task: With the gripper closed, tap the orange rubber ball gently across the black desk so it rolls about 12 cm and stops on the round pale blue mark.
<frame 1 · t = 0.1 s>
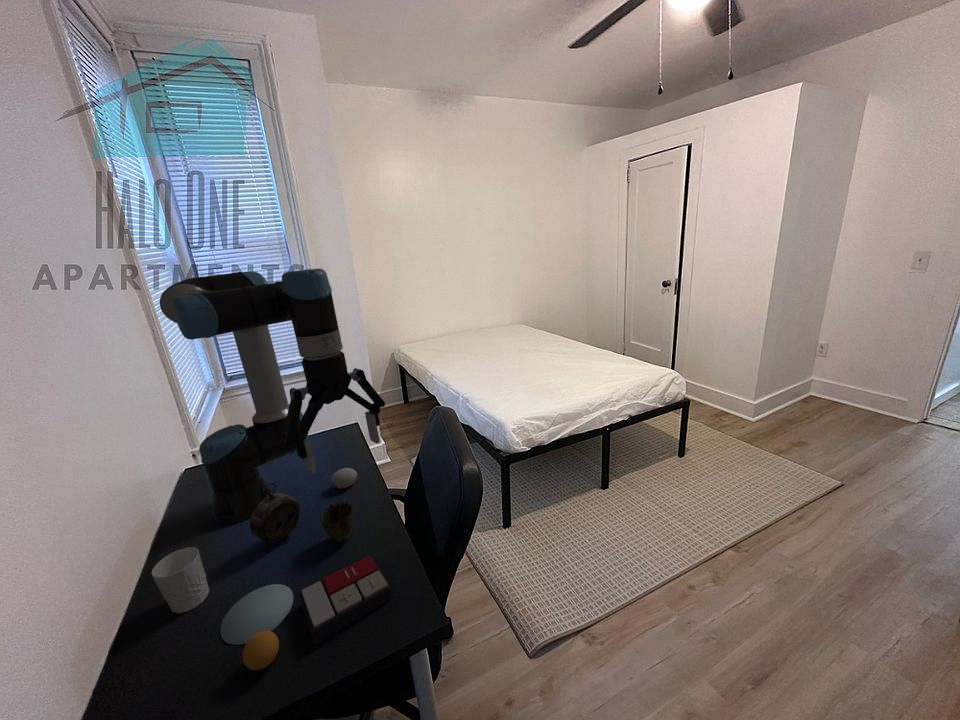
hand: (345, 455, 78), 28 cm above the table, fingers open, 13 cm apart
white cup: (191, 600, 83), on the table
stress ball: (345, 485, 118), on the table
alarm clock: (284, 539, 98), on the table
calculator: (347, 603, 79), on the table
ball: (261, 649, 67), on the table
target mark: (258, 612, 78), on the table
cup: (342, 539, 96), on the table
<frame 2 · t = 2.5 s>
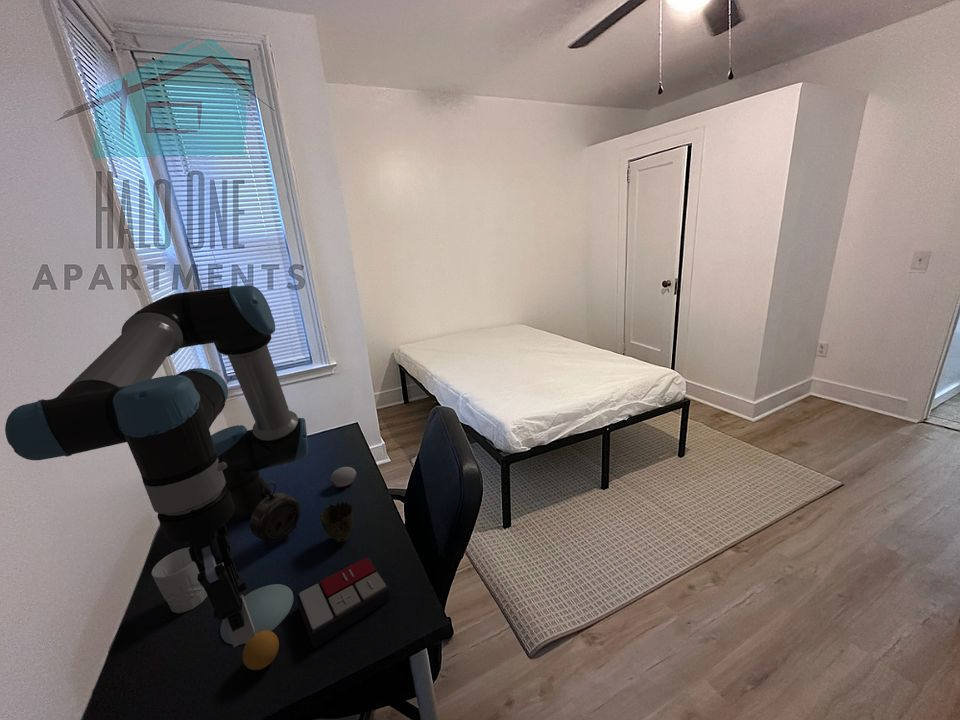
hand: (244, 637, 56), 16 cm above the table, fingers closed
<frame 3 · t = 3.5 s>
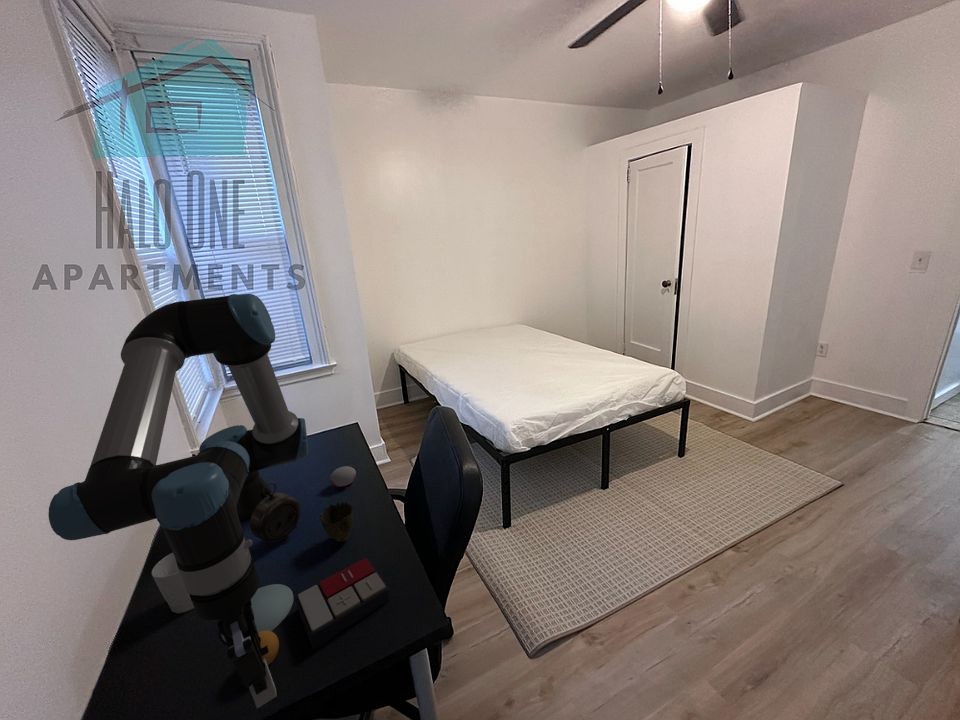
hand: (266, 697, 59), 3 cm above the table, fingers closed
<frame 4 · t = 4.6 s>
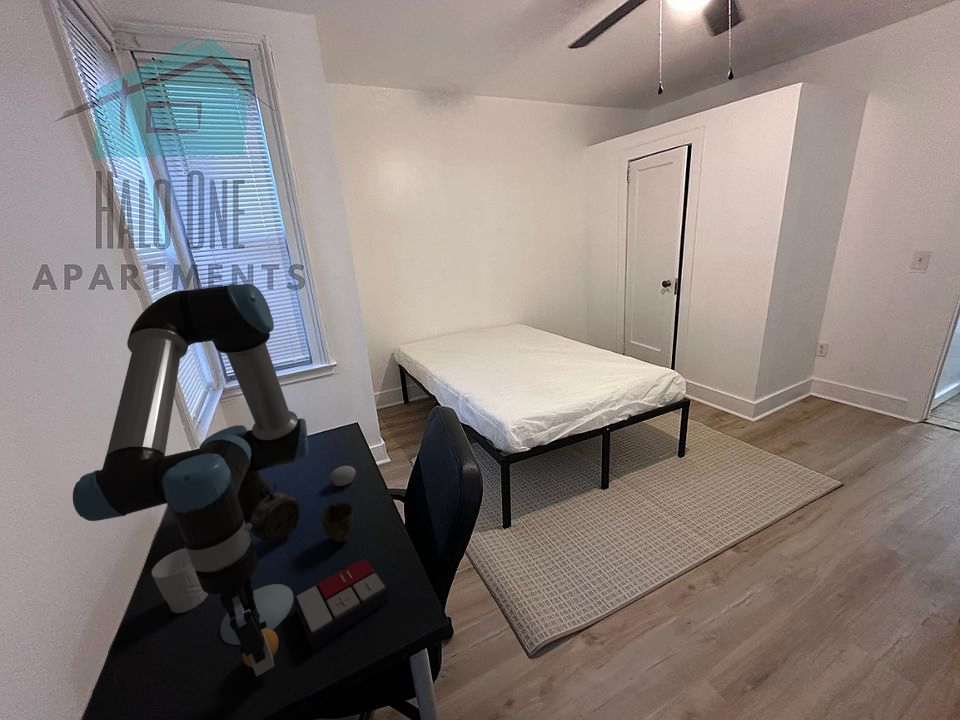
hand: (264, 667, 65), 2 cm above the table, fingers closed
ball: (260, 647, 68), on the table, touching gripper
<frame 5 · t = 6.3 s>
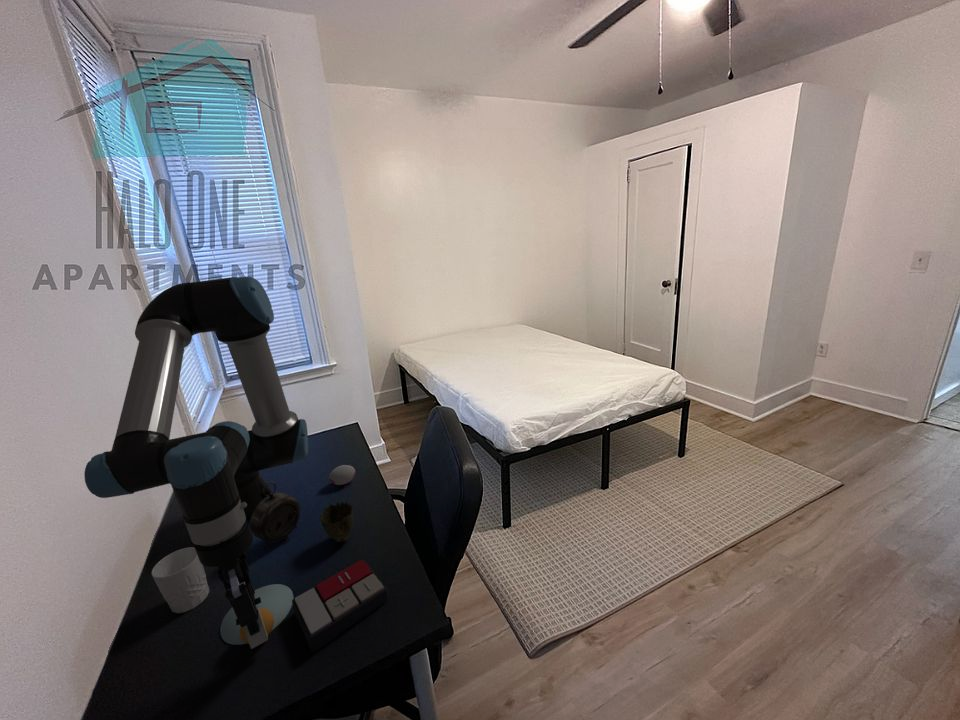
hand: (259, 641, 69), 2 cm above the table, fingers closed
ball: (257, 625, 72), on the table, touching gripper
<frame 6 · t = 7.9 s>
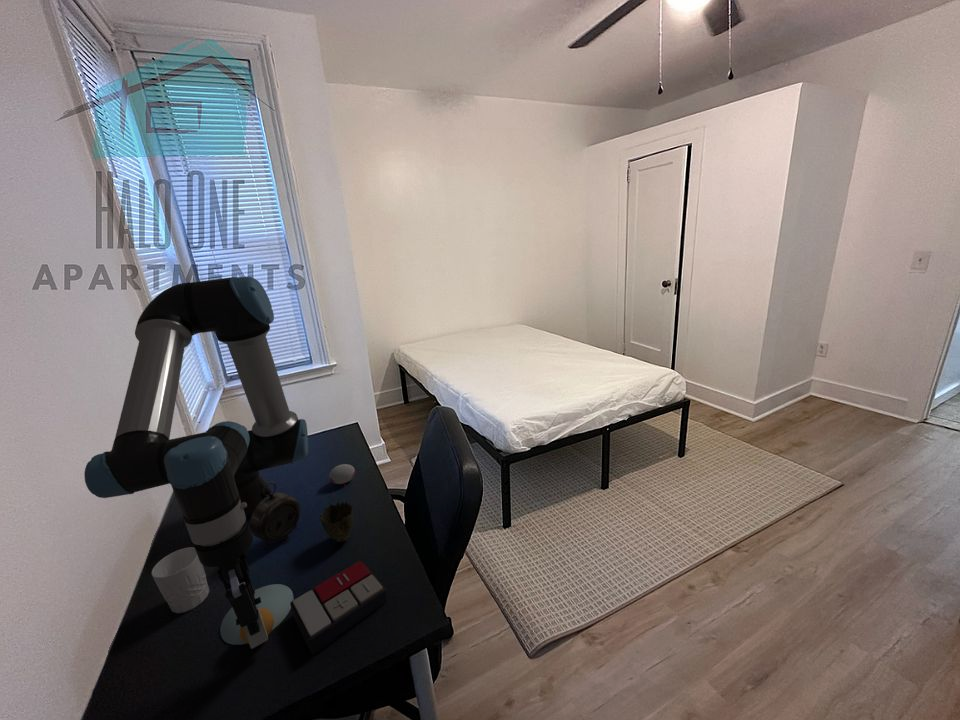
hand: (259, 641, 69), 2 cm above the table, fingers closed
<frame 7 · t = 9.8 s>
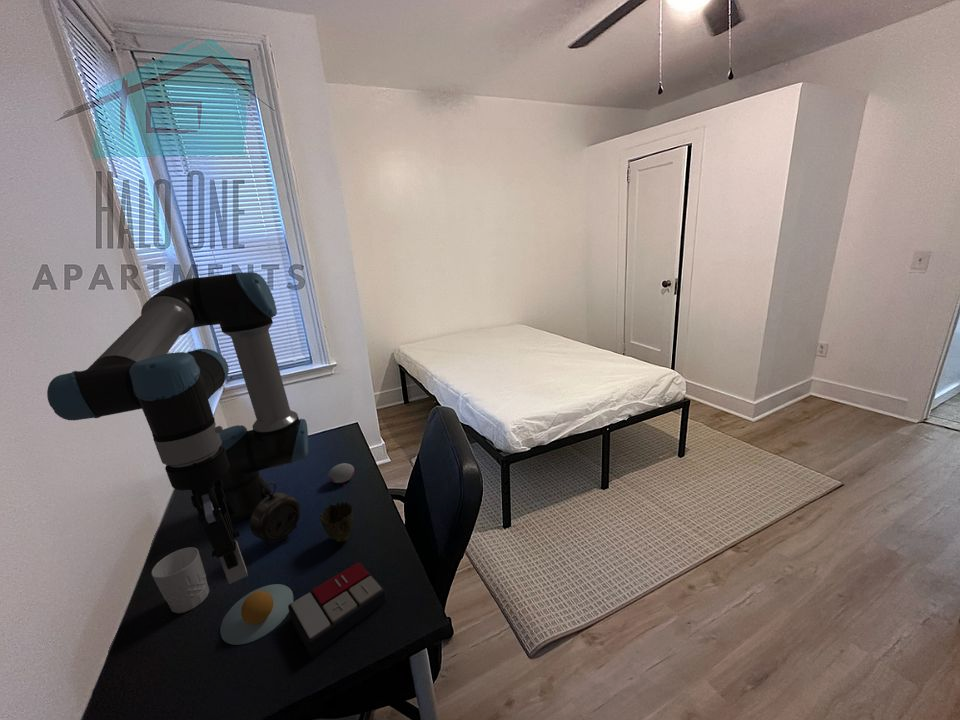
hand: (238, 577, 66), 16 cm above the table, fingers closed
ball: (257, 607, 76), on the table
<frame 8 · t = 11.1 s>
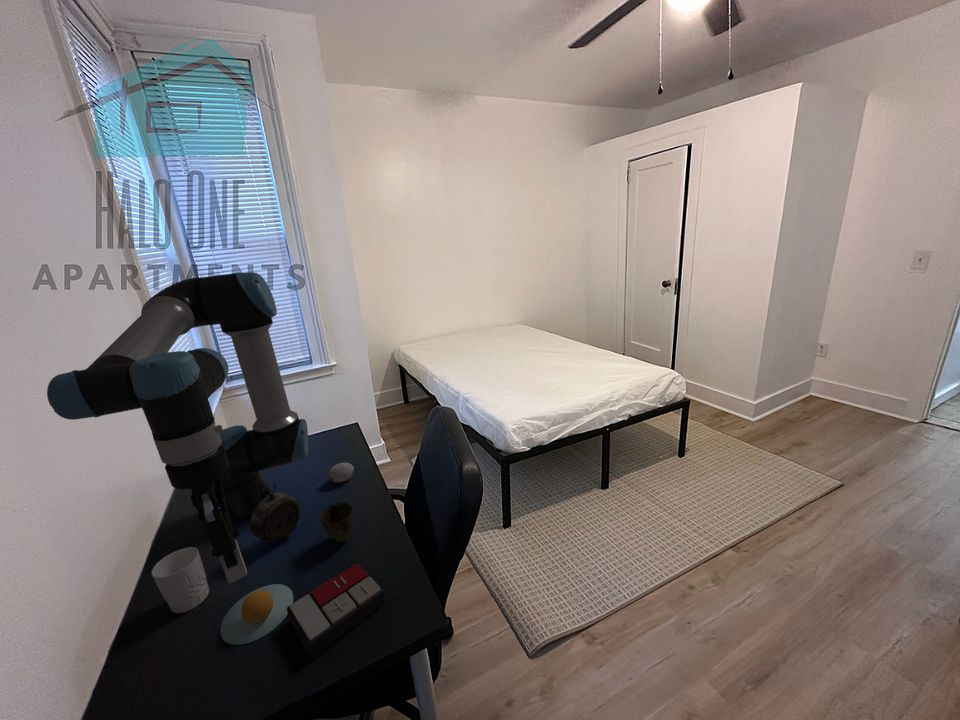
hand: (237, 576, 66), 16 cm above the table, fingers closed
at the end: ball 1.7 cm from the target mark (horizontally); ball at rest at the end (0.0 cm/s); ball moved 10.4 cm from its start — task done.
